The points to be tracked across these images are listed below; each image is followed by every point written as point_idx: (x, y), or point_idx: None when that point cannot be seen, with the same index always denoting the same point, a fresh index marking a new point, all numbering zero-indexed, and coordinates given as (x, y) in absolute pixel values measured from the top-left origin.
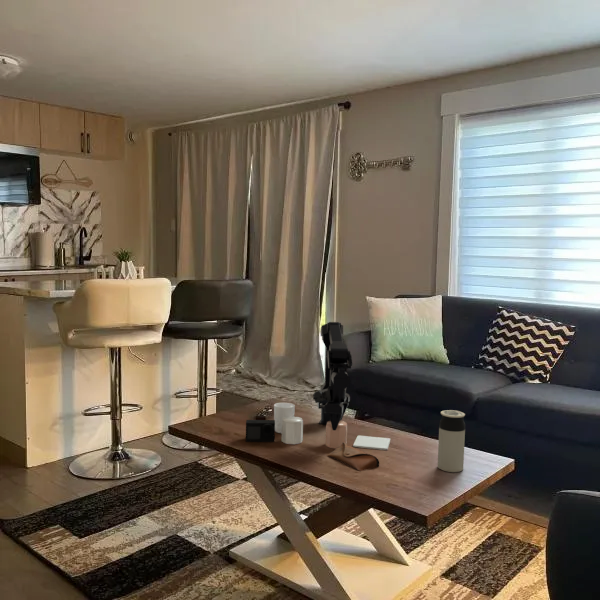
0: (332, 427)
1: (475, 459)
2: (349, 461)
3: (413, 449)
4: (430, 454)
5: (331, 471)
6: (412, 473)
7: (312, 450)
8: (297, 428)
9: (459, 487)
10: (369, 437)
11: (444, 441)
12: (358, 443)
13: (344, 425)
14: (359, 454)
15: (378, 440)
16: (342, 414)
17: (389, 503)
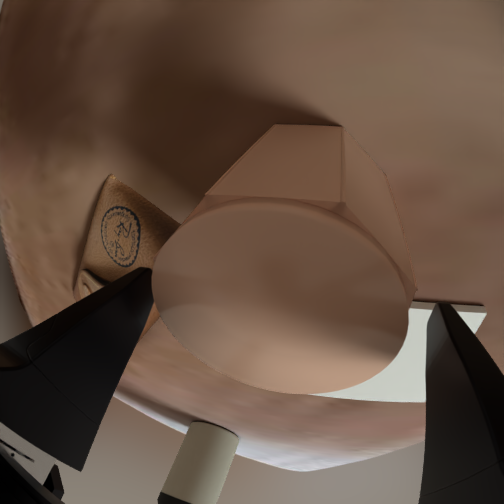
0: (119, 281)
1: (286, 458)
2: (76, 281)
3: (327, 424)
4: (294, 435)
5: (28, 224)
6: (145, 384)
7: (143, 71)
8: None
9: (139, 408)
10: None
11: (170, 472)
12: None
13: (228, 373)
14: None
15: (400, 379)
16: (430, 430)
17: (28, 317)
